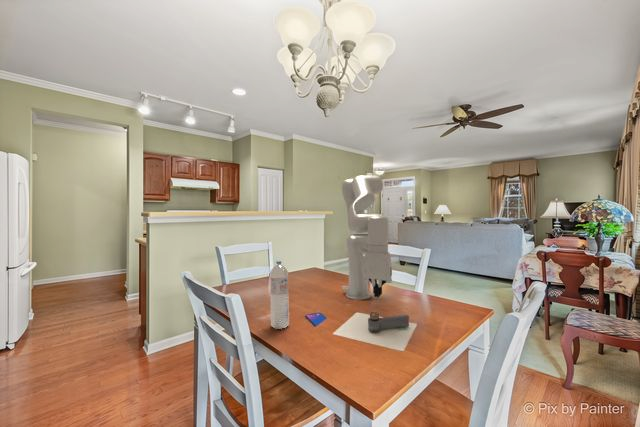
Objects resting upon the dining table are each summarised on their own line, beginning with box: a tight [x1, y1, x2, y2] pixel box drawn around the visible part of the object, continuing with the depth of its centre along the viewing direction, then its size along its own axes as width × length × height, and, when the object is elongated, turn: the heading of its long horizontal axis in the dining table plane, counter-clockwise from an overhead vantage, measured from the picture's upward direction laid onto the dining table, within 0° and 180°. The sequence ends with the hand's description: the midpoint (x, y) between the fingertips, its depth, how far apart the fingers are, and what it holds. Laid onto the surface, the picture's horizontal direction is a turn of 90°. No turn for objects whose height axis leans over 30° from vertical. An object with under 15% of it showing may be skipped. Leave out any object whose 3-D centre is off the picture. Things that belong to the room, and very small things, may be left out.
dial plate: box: [332, 312, 418, 352], centre depth 96 cm, size 24×22×2 cm
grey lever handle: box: [368, 311, 410, 333], centre depth 96 cm, size 15×4×6 cm, turn 104°
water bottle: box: [269, 260, 290, 330], centre depth 103 cm, size 7×7×25 cm
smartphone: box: [304, 312, 327, 328], centre depth 107 cm, size 7×1×15 cm
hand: (377, 295), depth 103 cm, fingers closed
